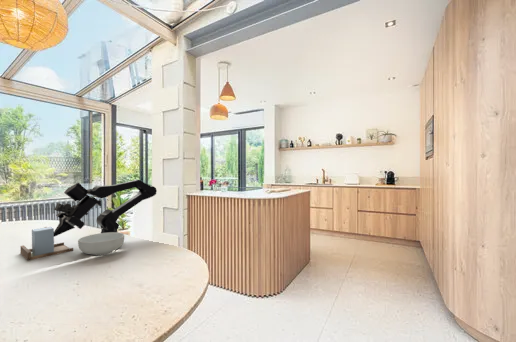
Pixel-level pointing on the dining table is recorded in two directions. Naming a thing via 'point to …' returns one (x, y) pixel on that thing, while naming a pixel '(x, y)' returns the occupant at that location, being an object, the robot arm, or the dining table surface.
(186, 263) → the dining table surface
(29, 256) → the box
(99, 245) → the cereal bowl
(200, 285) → the dining table surface
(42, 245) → the blue block
